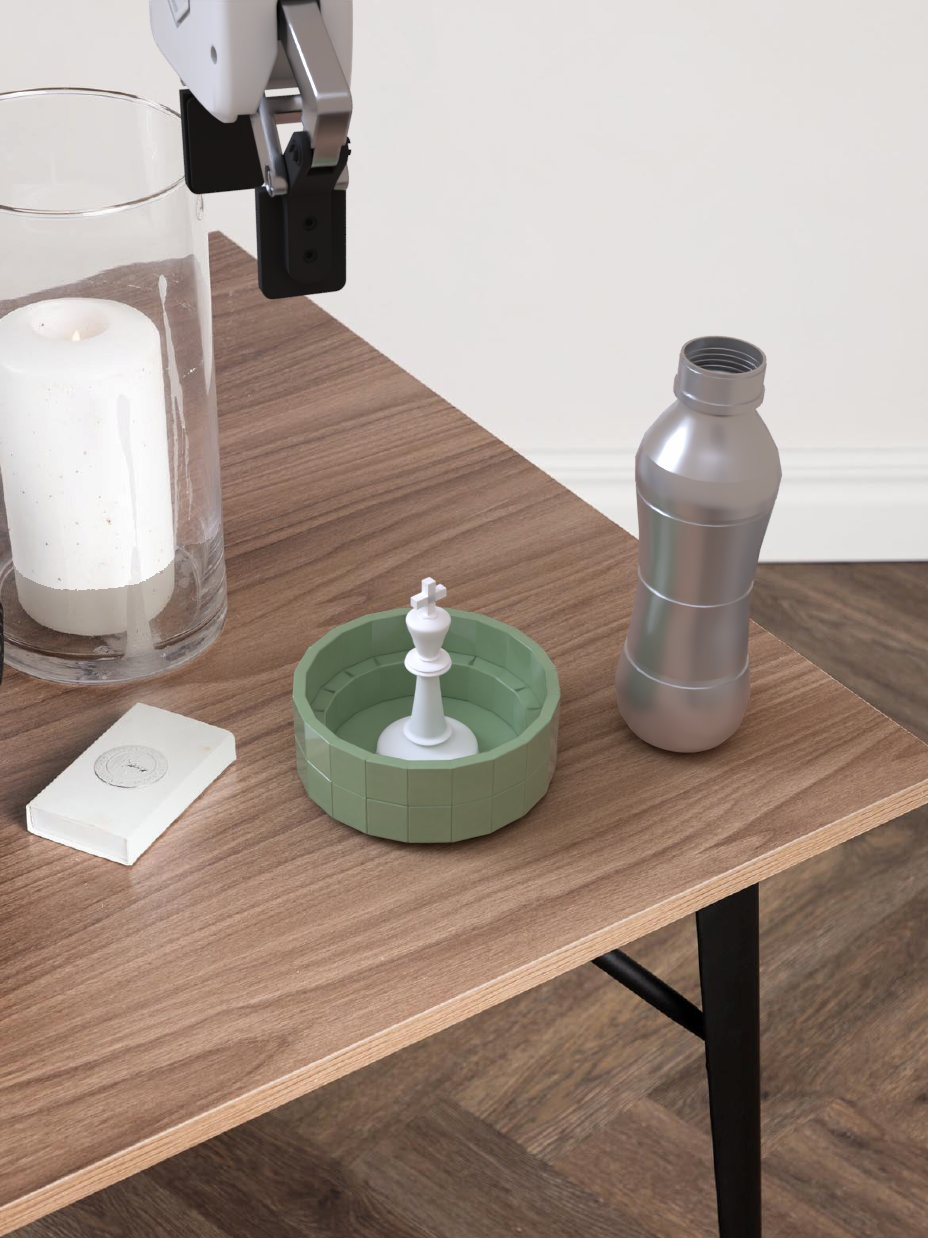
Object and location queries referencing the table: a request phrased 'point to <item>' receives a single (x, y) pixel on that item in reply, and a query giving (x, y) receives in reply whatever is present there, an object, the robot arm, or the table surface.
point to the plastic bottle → (699, 550)
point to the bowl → (384, 692)
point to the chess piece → (427, 689)
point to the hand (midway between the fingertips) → (262, 237)
